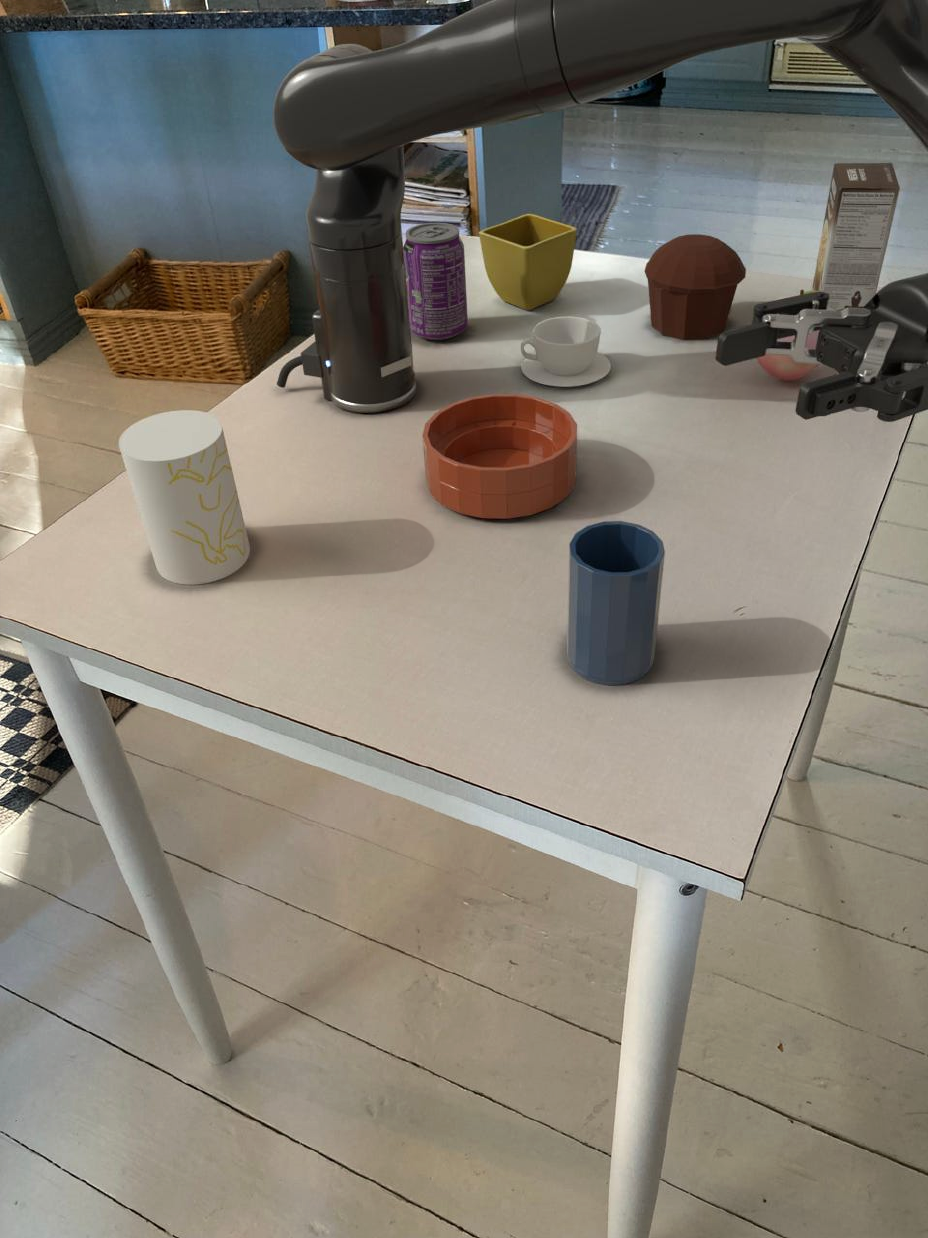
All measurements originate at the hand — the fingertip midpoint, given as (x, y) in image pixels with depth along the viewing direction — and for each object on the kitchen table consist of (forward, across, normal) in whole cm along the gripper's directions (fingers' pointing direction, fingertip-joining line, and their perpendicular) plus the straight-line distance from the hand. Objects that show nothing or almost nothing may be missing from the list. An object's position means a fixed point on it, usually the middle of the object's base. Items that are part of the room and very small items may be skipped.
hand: (758, 375), depth 64 cm
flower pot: (-15, -63, +21) cm, 68 cm away
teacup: (-10, -43, +21) cm, 49 cm away
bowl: (+6, -26, +20) cm, 34 cm away
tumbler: (+10, 0, +20) cm, 23 cm away
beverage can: (-2, -60, +21) cm, 64 cm away
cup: (+35, -27, +21) cm, 49 cm away
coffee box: (-45, -40, +20) cm, 64 cm away
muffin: (-29, -47, +21) cm, 59 cm away
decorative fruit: (-29, -30, +20) cm, 46 cm away
